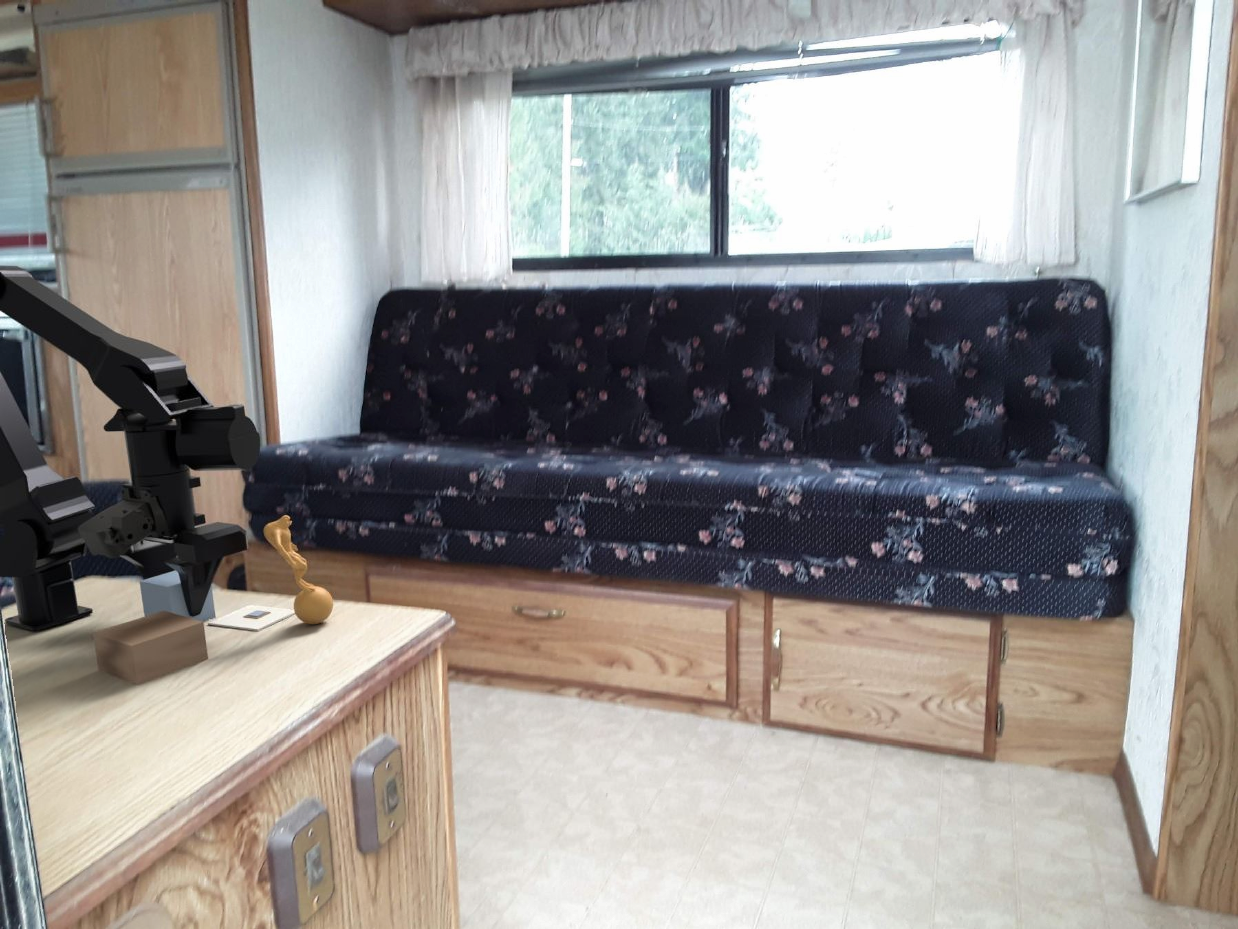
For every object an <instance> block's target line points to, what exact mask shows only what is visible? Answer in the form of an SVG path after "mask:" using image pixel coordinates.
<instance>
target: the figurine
mask: <svg viewBox="0 0 1238 929" xmlns="http://www.w3.org/2000/svg"><path fill="white" fill-rule="evenodd" d="M290 519H291V517H290V516H289V515H286V514H285V515H283V516H281V517H280V518H279V519H277V520H275V521H273V522H269V523H267V524H265V526H264V528H263V534H264V537H265V539H266V540H267V541H268V542H269V544H271V546H272V547H273V548H275V549H276V551H277V553H278V555H281V556H282V558H284V561H286V562H287V564H288V565H289V566H291V568H292V570H293V571H294V580H295V583H296V584H297V586H299V588H301V590H300V592H298V594H297V595H296V596H295V598H294V601H293V610H294V612H295V614H294V615H295V617H297V619H299V621H301V622H303V623H304V624H307V625H317V624H320V623H323V622H324V621H326V620H327V619H328V618H329V617H330V615H331V613H332V612H333V609H334V600H333V597H332V595H331V594H330V592H329V591H328V590H327V589H325V588H324V587H321V586H316V585H314V584H313V583H308V582H306V581H305V580H303V579H302V578H303V577H304V575H305V574H306V573H307V571H308V565H307V564H308V563H307V559H305V558H304V557H302V555H300V554H299V553H297V551H299V549H298V548H297V547H298V546H297V545H295V544H294V543H293V542H292V540H291V538H292V537H291V536H292V534H291V530H290V529H289V527H290V526H291V525H292V524H293V523H292V522H293V521H292V520H290Z"/></svg>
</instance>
